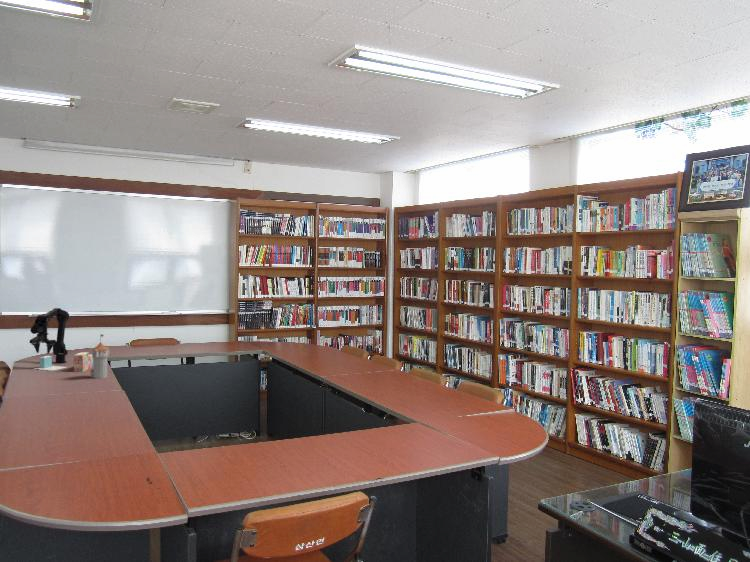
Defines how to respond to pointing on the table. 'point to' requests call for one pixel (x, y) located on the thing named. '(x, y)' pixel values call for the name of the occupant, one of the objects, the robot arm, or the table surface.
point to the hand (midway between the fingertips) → (42, 353)
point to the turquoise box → (46, 362)
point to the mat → (51, 368)
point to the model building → (100, 360)
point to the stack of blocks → (82, 361)
